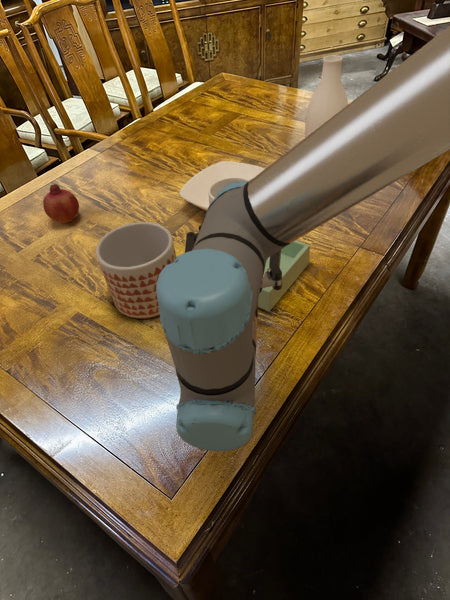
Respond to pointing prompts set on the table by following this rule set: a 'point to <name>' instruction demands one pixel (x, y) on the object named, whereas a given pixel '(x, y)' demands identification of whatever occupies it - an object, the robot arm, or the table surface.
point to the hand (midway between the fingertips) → (237, 210)
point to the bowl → (202, 181)
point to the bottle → (326, 95)
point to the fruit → (60, 204)
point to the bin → (285, 272)
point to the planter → (135, 265)
